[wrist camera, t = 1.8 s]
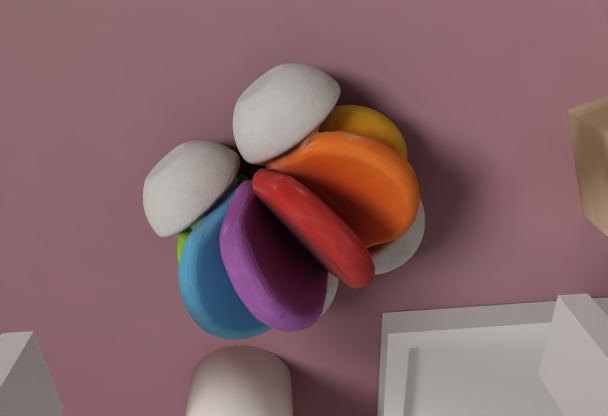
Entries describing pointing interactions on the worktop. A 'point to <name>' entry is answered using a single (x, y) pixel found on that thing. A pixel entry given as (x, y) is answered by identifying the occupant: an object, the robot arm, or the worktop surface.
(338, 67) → the worktop surface
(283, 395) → the white domed cylinder
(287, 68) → the multicoloured rounded cluster
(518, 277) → the worktop surface
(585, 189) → the oak block
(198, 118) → the worktop surface
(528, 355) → the tray
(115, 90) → the worktop surface
